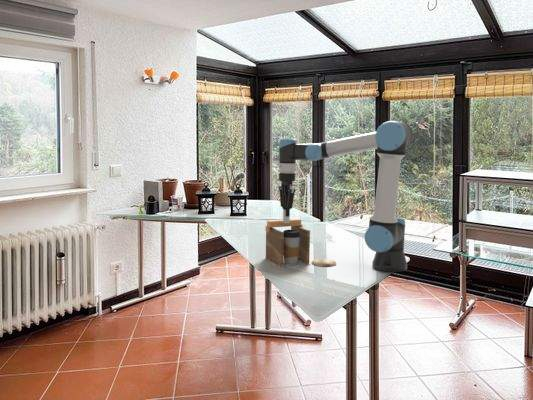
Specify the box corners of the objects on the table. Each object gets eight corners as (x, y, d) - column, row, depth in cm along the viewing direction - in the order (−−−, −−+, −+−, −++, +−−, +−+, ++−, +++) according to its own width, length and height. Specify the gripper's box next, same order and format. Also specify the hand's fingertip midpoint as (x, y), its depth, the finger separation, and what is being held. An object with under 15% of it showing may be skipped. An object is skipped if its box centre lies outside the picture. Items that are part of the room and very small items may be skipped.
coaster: (328, 259, 239) (328, 258, 239) (340, 265, 229) (340, 264, 229) (307, 261, 235) (307, 260, 235) (319, 267, 225) (319, 266, 225)
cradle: (292, 255, 246) (293, 224, 244) (309, 264, 231) (310, 230, 229) (265, 258, 240) (266, 226, 238) (280, 267, 225) (281, 232, 223)
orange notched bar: (299, 228, 242) (299, 218, 241) (302, 229, 239) (302, 219, 239) (265, 230, 235) (265, 220, 234) (268, 232, 232) (268, 221, 232)
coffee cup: (277, 262, 232) (278, 230, 230) (290, 260, 238) (291, 228, 236) (290, 266, 226) (291, 233, 224) (303, 263, 232) (304, 231, 230)
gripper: (273, 171, 236) (272, 221, 239) (285, 173, 224) (284, 225, 227) (288, 171, 239) (287, 220, 242) (300, 173, 227) (299, 224, 230)
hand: (286, 222), depth 235 cm, fingers closed
